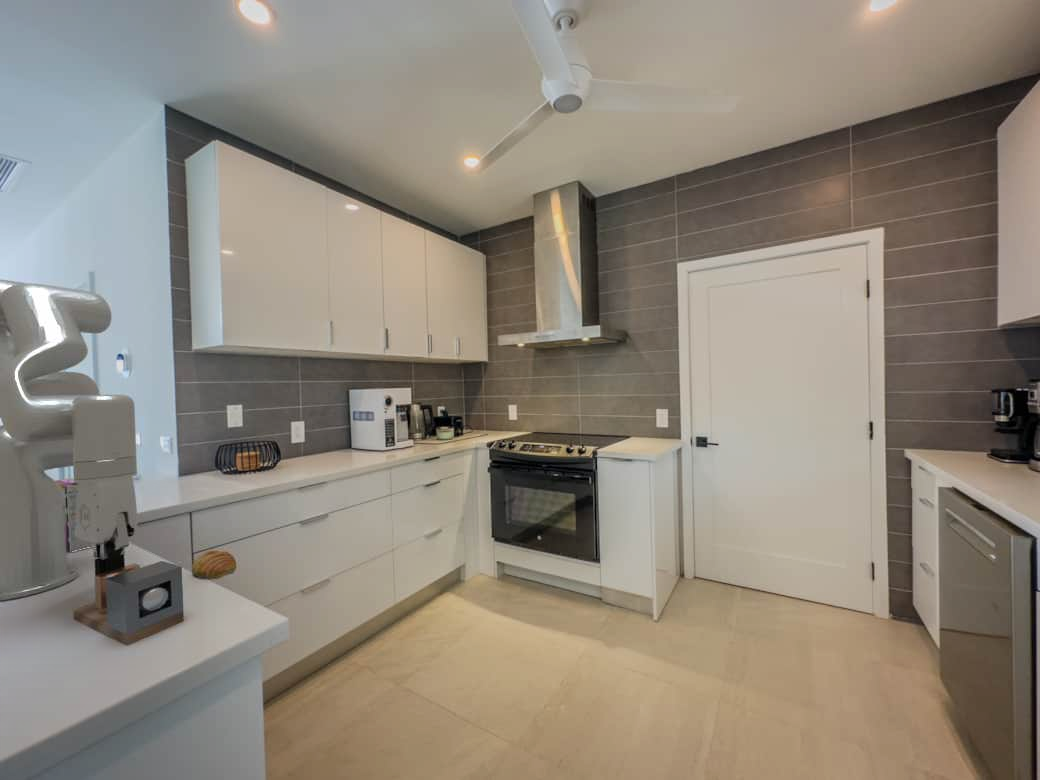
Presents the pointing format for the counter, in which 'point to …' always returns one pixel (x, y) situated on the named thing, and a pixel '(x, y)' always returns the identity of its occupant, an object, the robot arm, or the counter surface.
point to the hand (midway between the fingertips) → (110, 580)
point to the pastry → (214, 565)
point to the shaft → (147, 597)
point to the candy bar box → (71, 516)
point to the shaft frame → (136, 604)
